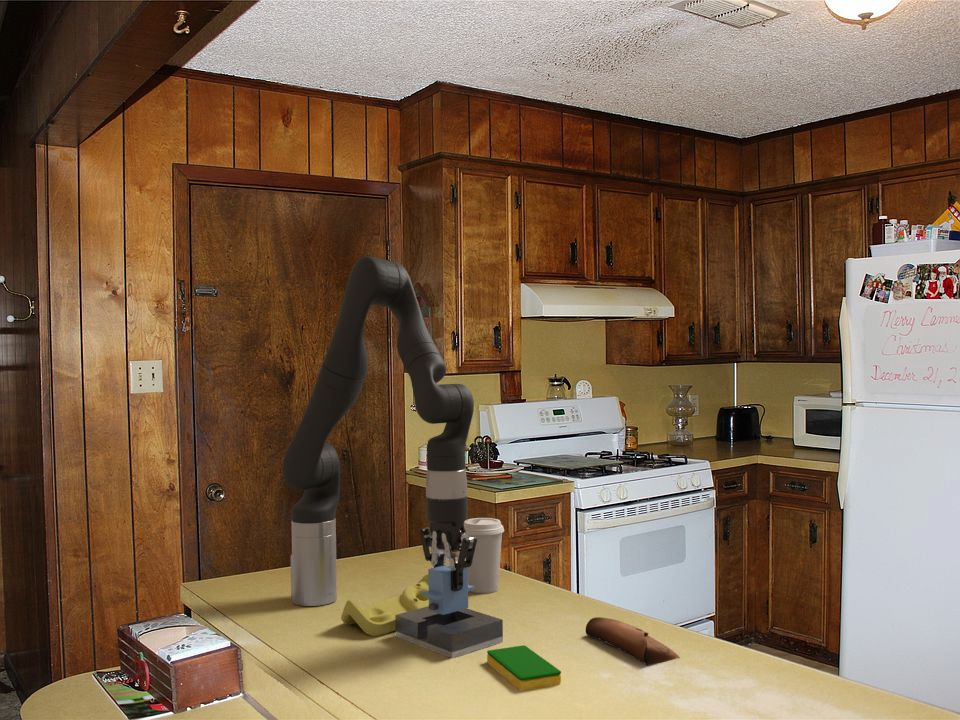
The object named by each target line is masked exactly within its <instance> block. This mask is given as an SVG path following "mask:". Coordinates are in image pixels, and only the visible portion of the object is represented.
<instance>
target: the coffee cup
mask: <svg viewBox="0 0 960 720" xmlns="http://www.w3.org/2000/svg"><path fill="white" fill-rule="evenodd" d="M464 527H465V530H466V534H467V535H469V536H470V537H473V536H475V537H476V538H477V543H476V547H475V552H474V556H473V561H472V565H471V567H468V585H470V586H474V590H472V591H471V593H473V592H474V594H491V592H492V593H495V591H496V592H498V590H499V582H500V581H499V580H500V568H501V567H500V566H501V554H502V552H501V551H502V541H503V539H502V538H503V533H504V532H505V528H504V525H502V522H501V520H500V519H498V518H491V517H476V518H474V517H473V518H469V519H468V518H467V519H466V520H465V522H464Z"/></svg>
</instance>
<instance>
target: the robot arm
mask: <svg viewBox="0 0 960 720" xmlns="http://www.w3.org/2000/svg"><path fill="white" fill-rule="evenodd" d="M371 305H373V306H380V307H387V308H388V310H390V311H391V313H392V314H393V316H394V318H395V319H396V320H397V324H398V330H397V338H396V348H397V352H398V356H399V358H400V360H401V363H402V364H403V366H404V369H405V371H406V373H407V374H408V376H409V378H410V383H411V388H412V392H413V400H414V406H415V410H416V412H417V414H418V416H419V418H421V420H422V421H424V422H426V423H428V424H432V425H433V424H434V425H438V424H445V426H444V429H443V431H442V432H441V433H440V434H439V435H435V436H433V437H431V438H430V439H428V440H427V443H426V478H425V502H426V503H425V505H426V506H425V507H426V508H425V509H426V510H425V512H426V514H425V515H426V520H427V521H428V522H430V523H429V527H425V528H420V529H419V537H420V541H421V545H422V550H423V555H424V559H425V561H427V562H430V563H431V566H432V567H433V568H435V567H440V566H444V565H445V563H446V560H447V559H448V561H449V564H450V567H451V570H452V571H451V590H452V591H454V592H455V591H459V590H461V589H462V587H463V570H464V568H467V567H471V565H472V561H473V556H474V552H475V547H476V543H477V538H476V537H475V536H473V537H470V536H469V535H467V534H466V530H465V527H464V522H465V521H466V520H468V515H469V514H468V511H469V510H468V509H469V508H468V479H467V478H468V477H467V472H466V469H467V468H466V445H467V440H468V437H469V431H470V428H471V423H472V420H473V415H474V409H475V403H474V398H473V395H472V392H471V390H470V389H469V388H468V386H466V385H464V384H462V383H448V384H447V383H446V384H445V383H444V384H437V383H439V382H441V380H443V379H444V377H445V376H446V373H447V366H446V363H445V361H444V359H443V357H442V355H441V353H440V351H439V349H438V348H437V346H436V344H435V342H434V340H433V338H432V336H431V334H430V331H429V330H428V328H427V326H426V323H425V321H424V317H423V313H422V310H421V307H420V303H419V301H418V299H417V296H416V292H415V289H414V285H413V283H412V280H411V277H410V275H409V273H408V271H407V270H406V268H405V267H404V266H403V265H401V263H398V262H395V261H393V260H387V259H383V258H379V257H373V256H370V255H369V256H368V255H367V256H362V257H360V258H359V259H358V260H357V261H356V263H355V264H354V265H353V267H352V269H351V271H350V274H349V277H348V279H347V284H346V286H345V290H344V295H343V299H342V303H341V308H340V310H339V315H338V318H337V320H336V321H337V322H336V325H335V329H334V331H333V334H332V336H331V340H330V342H329V345H328V348H327V350H326V353H325V356H324V358H323V360H322V364H321V367H320V368H319V371H318V375H317V377H316V380H315V384H314V387H313V390H312V392H311V394H310V398H309V400H308V401H307V404H306V407H305V411H304V413H303V416H302V419H301V421H300V423H299V425H298V427H297V429H296V431H295V433H294V435H293V437H292V439H291V441H290V444H289V445H288V448H287V449H286V452H285V454H284V457H283V460H282V466H281V467H282V468H281V469H282V470H281V471H282V478H283V480H284V482H285V483H286V485H287V487H290V488H291V489H294V490H299V491H300V490H301V491H302V490H304V493H303V495H302V496H301V497H300V499H299V500H298V502H296V503H295V504H294V505H293V506H292V508H291V512H290V517H291V518H290V520H291V555H290V592H291V593H290V595H291V600H292V603H293V604H294V605H297V606H301V607H316V606H317V607H318V606H325V605H329V604H331V603H334V602H336V601H337V599H338V591H337V590H338V587H337V586H338V585H337V582H338V581H337V580H338V578H337V571H338V570H337V530H336V529H337V528H336V527H337V523H336V522H337V521H336V519H337V518H336V515H337V514H336V512H337V508H338V506H339V501H340V492H341V491H340V489H341V487H340V486H341V485H340V484H341V465H340V458H339V455H338V452H337V450H336V449H335V448H334V446H332V444H330V443H327V441H328V438H329V436H330V434H331V433H332V431H333V430H334V428H335V427H336V426H337V425H338V423H340V421H342V419H343V418H344V416H345V415H346V414H347V413H348V412H349V411H350V410H351V408H352V407H353V405H354V404H355V403H356V402H357V400H358V398H359V395H360V393H361V391H362V388H363V386H364V382H365V380H366V378H367V375H368V371H369V357H368V352H367V347H366V343H365V336H364V329H365V322H366V320H367V316H368V312H369V310H370V307H371ZM454 551H455V552H454ZM456 559H457V562H458V563H456Z"/></svg>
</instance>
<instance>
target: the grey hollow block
mask: <svg viewBox="0 0 960 720" xmlns="http://www.w3.org/2000/svg"><path fill="white" fill-rule="evenodd" d="M503 621H504V620H503V619H502V618H498V617H495V616H493V615H492V616H491V615H489V614H486V613H483V612H480V611H476V610H473V609H470V608H466V609H463V610H459V611H456V612H452V613H448V614H445V615H442V614H439V613H436V612H432V611H429V606H427V607H424V608H420V609H416V610H412V611H409V612H405V613H401V614H397V615H395V623H396V630H395V637H396V638H398V639H400V640H403V641H407V642H408V643H412V644H414V645H417V646H419V647H422V648H425V649H427V650H430V651H432V652H435V653H438V654H440V655H442V656H446V657H448V658H451V659H454V658H459V657H460V656H463V655H466V654H470V653H473V652H476V651H479V650H483V649H485V648H488V647H491V646H494V645H497V644H500V643H503V642H504V629H503V627H504V625H503Z"/></svg>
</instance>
